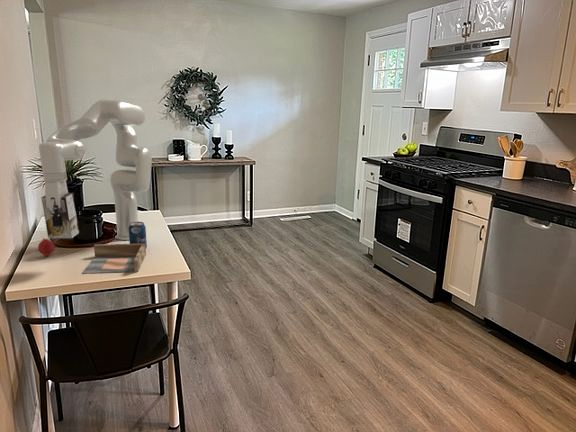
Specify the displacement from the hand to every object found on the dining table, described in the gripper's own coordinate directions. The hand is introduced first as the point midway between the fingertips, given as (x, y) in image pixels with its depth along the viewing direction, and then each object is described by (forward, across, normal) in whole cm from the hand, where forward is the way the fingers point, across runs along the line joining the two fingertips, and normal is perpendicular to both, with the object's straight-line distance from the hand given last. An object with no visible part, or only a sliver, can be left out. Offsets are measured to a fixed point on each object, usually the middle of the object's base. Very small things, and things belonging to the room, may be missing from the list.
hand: (61, 222), depth 159 cm
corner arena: (+18, -1, +18) cm, 25 cm away
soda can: (+19, -16, +24) cm, 34 cm away
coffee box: (+6, 0, 0) cm, 6 cm away
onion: (+18, -11, -11) cm, 24 cm away
